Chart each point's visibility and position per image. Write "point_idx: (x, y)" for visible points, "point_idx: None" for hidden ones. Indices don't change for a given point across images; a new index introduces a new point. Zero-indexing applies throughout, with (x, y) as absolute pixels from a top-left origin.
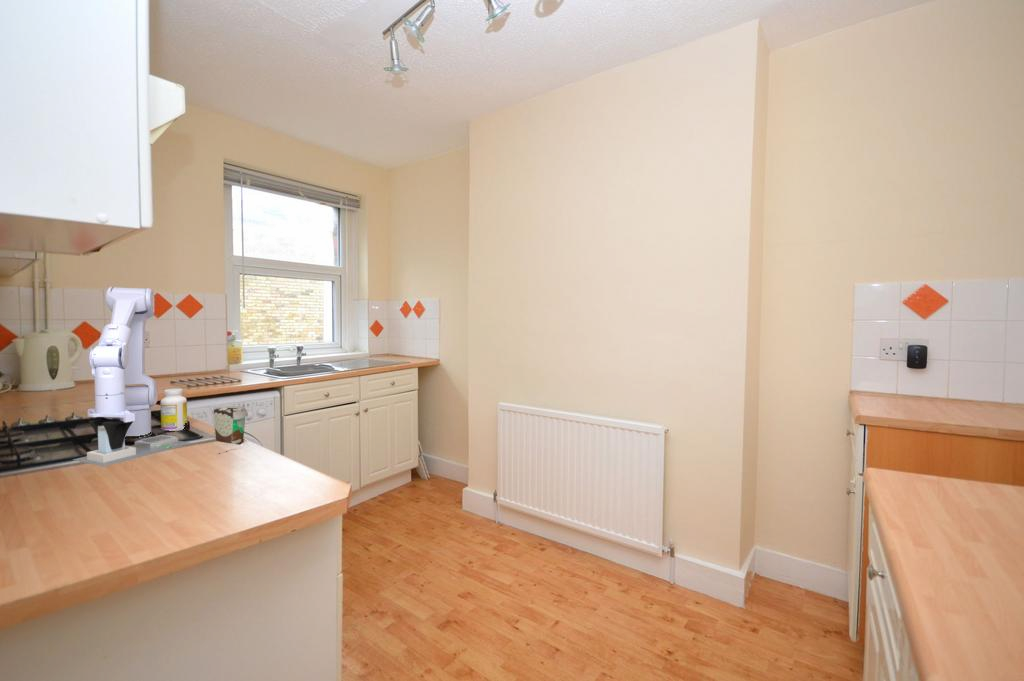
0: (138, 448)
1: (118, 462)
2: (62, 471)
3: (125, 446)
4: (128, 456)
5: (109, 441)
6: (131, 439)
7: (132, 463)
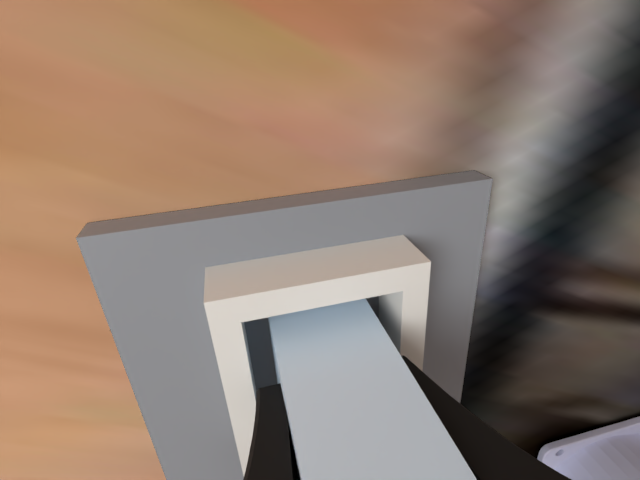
0: None
1: (113, 329)
2: (352, 47)
3: None
4: None
5: (279, 443)
6: None
7: None
